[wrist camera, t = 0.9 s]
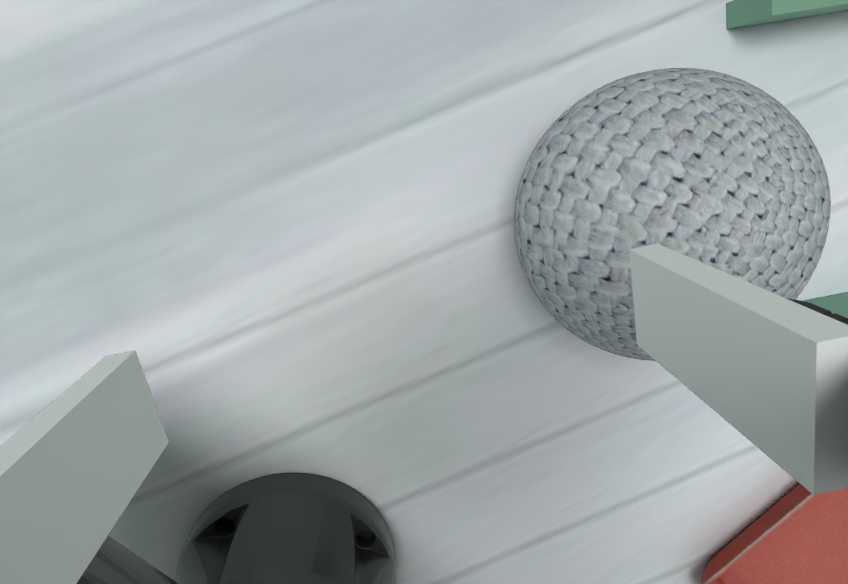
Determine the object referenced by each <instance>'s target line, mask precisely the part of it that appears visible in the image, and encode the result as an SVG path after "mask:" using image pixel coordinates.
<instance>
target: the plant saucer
mask: <svg viewBox="0 0 848 584" xmlns="http://www.w3.org/2000/svg"><path fill="white" fill-rule="evenodd" d="M701 584H848V488H843V489H839V490H834V491H829V492H825V493H820V494H815V495H813V494H812V493H811V492H810V491H808V490H807V489H806V488H805V487H804V486H802V485H801V484H800V483H799V484H798V485H797V486H795V487H794V488H793V489H792V490H791V491H790V492H788V493H787V494H786V495H785V496H784V497H782V498H781V499H780V500H779V501H778V502H777V503H775V504H774V505H773V506H772V507H771V508H770V509H768V510H767V511H766V512H765V513H764V514H762V515H761V516H760V517H759V518H758V519H757V520H756V521H754V522H753V523H752V524H751V525H749V526H748V527H747V528H746V529H745V530H744V531H743V532H741V533H740V534H739V535H738V536H736V537H735V538H734V539H733V540H732V541H731V542H729V543H728V544H727V545H726V546H725V547H724V548H722V549H721V550H720V551H719V552H718V553H717V554H715V555H714V556H713V557H712V558H711V559H710V561H709V563H708V565H707V567H706V569H705V572H704V574H703V577H702V581H701Z"/></svg>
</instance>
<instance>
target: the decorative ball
mask: <svg viewBox="0 0 848 584" xmlns="http://www.w3.org/2000/svg"><path fill="white" fill-rule="evenodd" d="M830 204H831V201H830V188H829V182H828V177H827V173H826V170H825V167H824V164H823V162H822V159H821V157H820V155H819V153H818V150H817V148H816V147H815V145H814V143H813V141H812V140H811V138H810V136H809V135H808V133H807V132H806V130H805V129H804V128H803V126H802V125H801V124H800V122H799V121H798V120H797V119H796V118H795V117H794V116H793V115H792V114H791V113H790V112H789V111H788V110H787V109H786V108H785V107H784V106H783V105H782V104H781V103H780V102H778V101H777V100H776V99H774V98H773V97H772V96H770V95H769V94H767V93H766V92H764V91H763V90H761V89H759V88H758V87H756V86H754V85H752V84H750V83H748V82H746V81H743V80H741V79H738V78H736V77H733V76H730V75H727V74H723V73H719V72H715V71H710V70H703V69H693V68H670V69H660V70H652V71H647V72H642V73H637V74H634V75H630V76H627V77H624V78H621V79H618V80H616V81H613V82H611V83H609V84H607V85H604V86H603V87H601V88H599V89H597V90H595V91H593V92H592V93H590V94H588V95H587V96H585V97H584V98H582V99H581V100H579V101H578V102H577V103H575V104H574V105H573V106H572V107H570V108H569V109H568V110H567V111H566V112H564V113H563V114H562V115H561V116H560V117H559V118H558V119H557V120H556V121H555V122H554V123H553V124H552V126H551V127H550V128H549V129H548V130H547V132H546V133H545V134H544V135H543V137H542V138H541V140H540V141H539V142H538V144H537V146H536V147H535V149H534V151H533V152H532V154H531V156H530V158H529V160H528V162H527V165H526V167H525V169H524V172H523V174H522V177H521V180H520V183H519V187H518V192H517V197H516V203H515V213H514V231H515V241H516V247H517V252H518V256H519V260H520V263H521V266H522V269H523V271H524V274H525V276H526V278H527V280H528V282H529V284H530V286H531V288H532V289H533V291H534V293H535V294H536V296H537V297H538V299H539V300H540V302H541V303H542V304H543V305H544V307H545V308H546V309H547V310H548V311H549V313H550V314H551V315H552V316H553V317H554V318H555V319H556V320H557V321H558V322H559V323H560V324H561V325H563V326H564V327H565V328H566V329H568V330H569V331H570V332H572V333H573V334H574V335H576V336H578V337H579V338H581V339H582V340H584V341H586V342H588V343H590V344H591V345H594V346H596V347H598V348H600V349H603V350H605V351H608V352H611V353H614V354H617V355H621V356H625V357H629V358H634V359H641V360H652V361H656V360H654V359H653V358H652V357H651V356H650V355H648V354H647V353H646V352H645V351H644V350H643V349H641V348H640V347H639V346H638V345H637V338H636V326H635V314H634V301H633V289H632V277H631V265H630V252H629V249H634V248H638V247H643V246H648V245H653V244H660V245H662V246H664V247H667V248H669V249H671V250H674V251H676V252H678V253H681V254H683V255H685V256H688V257H690V258H692V259H695V260H697V261H699V262H702V263H704V264H706V265H709V266H711V267H713V268H716V269H718V270H720V271H723V272H725V273H727V274H730V275H732V276H734V277H737V278H739V279H742V280H744V281H746V282H749V283H751V284H753V285H756V286H758V287H760V288H763V289H765V290H767V291H770V292H772V293H774V294H777V295H779V296H781V297H784V298H789V299H794V300H795V299H796V298H797V297H798V296H799V294H800V293H801V292H802V290H803V289H804V287H805V286H806V284H807V283H808V281H809V279H810V277H811V276H812V274H813V272H814V270H815V268H816V266H817V264H818V261H819V259H820V257H821V254H822V251H823V248H824V245H825V241H826V237H827V233H828V228H829V220H830Z"/></svg>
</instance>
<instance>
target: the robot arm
mask: <svg viewBox="0 0 848 584" xmlns="http://www.w3.org/2000/svg"><path fill="white" fill-rule="evenodd" d="M629 252H630V265H631V277H632V289H633V301H634V314H635V326H636V338H637V345H638V346H639V347H640V348H641V349H643V350H644V351H645V352H646V353H647V354H648V355H650V356H651V357H652V358H653V359H654V360H656V361H657V362H658V363H659V364H660V365H661V366H663V367H664V368H665V369H666V370H667V371H668V372H670V373H671V374H672V375H673V376H674V377H676V378H677V379H678V380H679V381H680V382H681V383H683V384H684V385H685V386H686V387H687V388H688V389H690V390H691V391H692V392H693V393H694V394H695V395H697V396H698V397H699V398H700V399H701V400H703V401H704V402H705V403H706V404H707V405H708V406H710V407H711V408H712V409H713V410H714V411H715V412H717V413H718V414H719V415H720V416H721V417H723V418H724V419H725V420H726V421H727V422H728V423H730V424H731V425H732V426H733V427H734V428H735V429H737V430H738V431H739V432H740V433H741V434H743V435H744V436H745V437H746V438H747V439H748V440H750V441H751V442H752V443H753V444H754V445H755V446H757V447H758V448H759V449H760V450H761V451H762V452H764V453H765V454H766V455H767V456H768V457H770V458H771V459H772V460H773V461H774V462H775V463H777V464H778V465H779V466H780V467H781V468H782V469H784V470H785V471H786V472H787V473H788V474H790V475H791V476H792V477H793V478H794V479H795V480H797V481H798V482H799V483H800V484H801V485H802V486H804V487H805V488H806V489H807V490H808V491H810V492H811V493H812V494H813V495H815V494H820V493H825V492H829V491H834V490H839V489H843V488H848V318H846V317H843V316H841V315H839V314H836V313H834V314H832V313H831V311H829V310H827V309H824V308H822V307H819V306H817V305H814V304H812V303H809V302H804V301H799V300H794V299H789V298H784V297H781V296H779V295H777V294H774V293H772V292H770V291H767V290H765V289H763V288H760V287H758V286H756V285H753V284H751V283H749V282H746V281H744V280H742V279H739V278H737V277H734V276H732V275H730V274H727V273H725V272H723V271H720V270H718V269H716V268H713V267H711V266H709V265H706V264H704V263H702V262H699V261H697V260H695V259H692V258H690V257H688V256H685V255H683V254H681V253H678V252H676V251H674V250H671V249H669V248H667V247H664V246H662V245H660V244H653V245H648V246H643V247H638V248H634V249H629ZM168 443H169V440H168V438H167V435H166V432H165V429H164V427H163V424H162V421H161V419H160V416H159V413H158V411H157V408H156V405H155V402H154V400H153V397H152V394H151V392H150V389H149V386H148V384H147V381H146V378H145V375H144V373H143V370H142V367H141V365H140V362H139V359H138V357H137V354H136V351H135V350H134V351H129V352H124V353H119V354H114V355H110V356H106V357H104V358H103V359H102V360H101V361H100V362H98V363H97V364H96V365H95V366H94V367H93V368H91V369H90V370H89V371H88V372H87V373H86V374H84V375H83V376H82V377H81V378H80V379H79V380H77V381H76V382H75V383H74V384H73V385H72V386H70V387H69V388H68V389H67V390H66V391H65V392H63V393H62V394H61V395H60V396H59V397H58V398H56V399H55V400H54V401H53V402H52V403H51V404H49V405H48V406H47V407H46V408H45V409H44V410H42V411H41V412H40V413H39V414H38V415H36V416H35V417H34V418H33V419H32V420H31V421H29V422H28V423H27V424H26V425H25V426H24V427H22V428H21V429H20V430H19V431H18V432H17V433H15V434H14V435H13V436H12V437H11V438H10V439H8V440H7V441H6V442H5V443H4V444H3V445H1V446H0V584H396V565H395V554H394V545H393V540H392V537H391V534H390V531H389V528H388V526H387V524H386V522H385V521H384V519H383V517H382V516H381V514H380V513H379V512H378V510H377V509H376V508H375V507H374V506H373V505H372V504H371V503H370V502H369V501H368V500H367V499H366V498H365V497H363V496H362V495H361V494H359V493H358V492H357V491H355V490H353V489H352V488H350V487H348V486H346V485H344V484H342V483H340V482H337V481H335V480H332V479H329V478H325V477H321V476H317V475H311V474H301V473H285V474H275V475H269V476H264V477H260V478H257V479H254V480H251V481H248V482H245V483H243V484H241V485H239V486H237V487H235V488H233V489H231V490H229V491H228V492H226V493H225V494H223V495H222V496H220V497H219V498H218V499H217V500H215V501H214V502H213V503H212V504H211V505H210V506H209V507H208V508H207V509H206V510H205V511H204V512H203V514H202V515H201V516H200V517H199V519H198V520H197V522H196V523H195V525H194V527H193V529H192V531H191V533H190V535H189V538H188V540H187V542H186V545H185V547H184V549H183V552H182V554H181V557H180V560H179V563H178V568H177V572H176V579H175V581H174V580H172V579H171V578H169V577H168V576H166V575H165V574H163V573H162V572H160V571H159V570H157V569H156V568H154V567H153V566H152V565H150V564H149V563H147V562H146V561H144V560H143V559H141V558H140V557H138V556H137V555H135V554H134V553H133V552H131V551H130V550H128V549H127V548H125V547H124V546H122V545H121V544H119V543H118V542H116V541H115V540H113V539H112V538H111V537H109V536H108V535H109V533H110V532H111V530H112V528H113V527H114V525H115V524H116V522H117V521H118V519H119V518H120V516H121V515H122V513H123V512H124V510H125V509H126V507H127V506H128V504H129V503H130V501H131V499H132V498H133V496H134V495H135V493H136V492H137V490H138V489H139V487H140V486H141V484H142V483H143V481H144V480H145V478H146V477H147V475H148V474H149V472H150V470H151V469H152V467H153V466H154V464H155V463H156V461H157V460H158V458H159V457H160V455H161V454H162V452H163V451H164V449H165V448H166V446H167V445H168Z"/></svg>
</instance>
